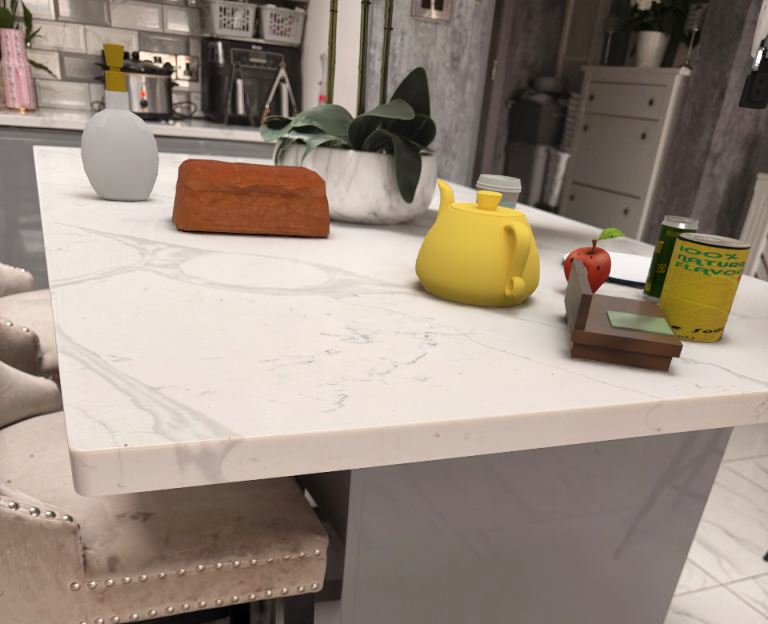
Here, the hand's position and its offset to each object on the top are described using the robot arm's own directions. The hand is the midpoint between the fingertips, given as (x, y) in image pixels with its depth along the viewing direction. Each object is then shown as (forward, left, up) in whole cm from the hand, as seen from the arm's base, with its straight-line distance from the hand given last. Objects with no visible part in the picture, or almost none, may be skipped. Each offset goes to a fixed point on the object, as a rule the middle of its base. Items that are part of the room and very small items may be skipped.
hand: (751, 108), depth 104 cm
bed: (+15, +28, -27) cm, 42 cm away
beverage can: (+4, +17, -27) cm, 33 cm away
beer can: (+5, -1, -27) cm, 28 cm away
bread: (+75, -13, -27) cm, 81 cm away
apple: (+17, +3, -27) cm, 32 cm away
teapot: (+34, +11, -27) cm, 45 cm away
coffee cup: (+33, -29, -27) cm, 51 cm away
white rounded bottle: (+105, -25, -27) cm, 111 cm away
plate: (+7, -20, -27) cm, 34 cm away
